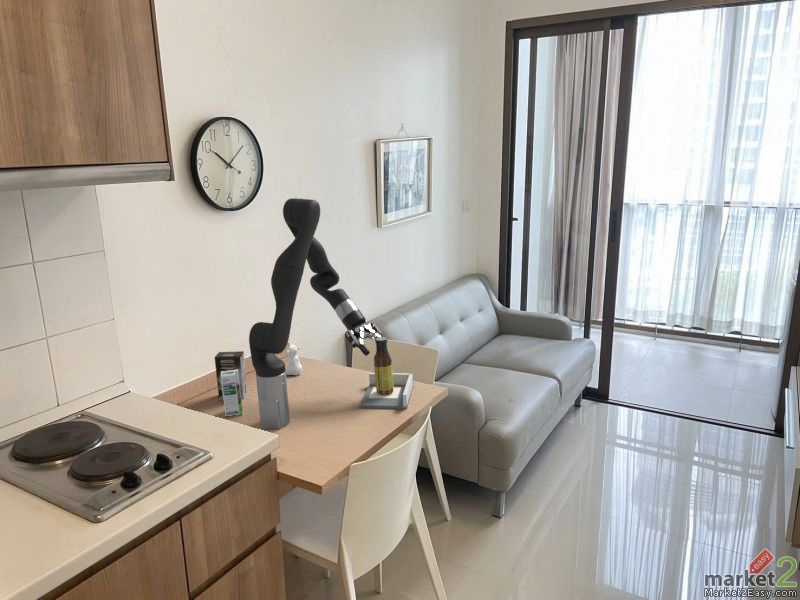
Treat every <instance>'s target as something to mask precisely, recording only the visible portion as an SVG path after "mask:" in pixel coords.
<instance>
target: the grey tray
mask: <svg viewBox="0 0 800 600" xmlns="http://www.w3.org/2000/svg"><path fill="white" fill-rule="evenodd" d="M368 379H369V385H368V387H367V389H366V391H365V393H364V396H363V397H362V399H361V402H360V404H359V409H388V410H389V409H391V408H394V409H396V410H398V409H400V410H401V409H403V410H407V409H408V408H409V407H408V406H409V403H410V400H411V396H412V393H411V392H413V390H412V389H413V388H414V373H413V372H411V373H407V372H393V385H394V387H393V392H392V393H391V394H388V395H381V394H378V393H377V389H376V382H375V372H369V373H368ZM391 410H392V409H391Z"/></svg>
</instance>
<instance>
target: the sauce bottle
mask: <svg viewBox="0 0 800 600" xmlns="http://www.w3.org/2000/svg"><path fill="white" fill-rule="evenodd" d="M374 341H375V342H374V343H375V345H376V349H375V350H376V351H375V354H374V356H373V363H374V364H373V367H374V373H375V382H376V389H377V393H378V394H381V395H388V394H391V393H392V392H393V387H394V385H393V373H394V371H393V360H392V358H391V355H390V353H389V351H388V339H387V337H386V336H381V337H378V338H376V339H375V340H374Z"/></svg>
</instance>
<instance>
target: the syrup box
mask: <svg viewBox="0 0 800 600" xmlns="http://www.w3.org/2000/svg"><path fill="white" fill-rule="evenodd" d="M221 385H222V393H223V400H222V401H223V406H224V407H223V409H224V417H225V416H229V417H233V416H232V415H236V416H243V413H244V412H243V403H242V399H241V392H240V383H239V374H238V369H236V370H229V371H221Z"/></svg>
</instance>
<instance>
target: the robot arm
mask: <svg viewBox="0 0 800 600" xmlns="http://www.w3.org/2000/svg"><path fill="white" fill-rule="evenodd" d="M282 216H283V219H284V222H285V224H286V226H287V228H288V229H289V230H290V232H291V233H292V235H293V237H294V240H293V241H292V242H291V243H290V244H289V245H288V246H287V247H286V248H285V249H284V250H283V251H282V252H281V253H280V255H278V257H277V258H276V261H275V264H274V266H273V270H272V274H271V278H270V283H271V289H272V290H271V291H272V293H273V296H274V302H275V312H274V317H273V320H272V321H273V322H263V321H259V322H256V323H254V325H252V326H251V328H250V330H249V334H248V335H249V336H248V343H249V352H250V357H251V365H252V366H253V369H254V371H255V377H256V378H255V379H256V389H257V398H258V411H259V418H260V426H261V427H260V428H261V430H262V429H263V430H264V429H265V430H267V429H269V430H280V429H282V428H283V427H286V426H288V425H289V424H290V422H291V417H290V415H291V414H290V405H289V394H288V382H287V375H286V369H285V368H286V364H285V361H283V360H282V359H281V358H279V357H278V356H277V355H279V354H281V353H283V352H284V351H285V349H286V348H287V345H288V342H289V340H290V339H289V338H290V334H291V327H292V321H293V315H294V310H295V305H296V301H297V296H298V294H299V289H300V285H301V282H302V278H303V275H304V270H305V267H306V263H307V265H308V267H309V269H310V271H311V272H312V273H314V274H313V275H312V276H311V278H310V279H309V283H310V286H311V289H313V291H314V292H316V293H317V294H318V295H319V296H321V297H322V298H323V299H325V301H327V303H329V305H330V306H331V308H332V309H333V310H334V312H335V313H336V315H337V317H338V318H339V320H340V321H341V323H342V324H343V326H344V327H345V328H346V330H347V332H346V333H345V334H344V336H345V337H346V339H347V341H348V342H349V344H350V345H351V347H352V348H353V349H355V348H358V349H359V350H360V352H361V353H362V354H363V355H364V356H365V357H367V356H368V355H370V353H371V352H370V350H369V348H368V347H367V346H366V345H365V343H364V340H366V339H370V340H373V341H375V339H376V338H378V337H383V334H384V333H383V331H382V330H381V328H379V327H378V326H377V324H376V323H375V322H374V321H372V322H371V323H369V324H368V322H367V321H366V317H365V316H364V314H363V313H362V312H361V310H360V309H359V307H358V306H357V305H356V303H355V302H354V301H352V298H350V297H349V294H347V292H346V291H345V290H344V289H343V288H336V289H333V290H331V288H333V287H334V286H336V285H337V284H339V281H340V275H339V273H338V272H337V271H336V270H335V268H334V267H333V266H332V264H331V263H330V260H329V259H328V256H327V253H326V251H325V248H324V247H323V245H322V244H321V243H320V241H319V240H318V239H316V237H315V233H316V230H317V228H318V224H319V222H320V217H321V205H320V203H319V202H318V201H317V200H316V199H310V198H297V197H296V198H295V197H293V198H288V199H287V200H286V201H285V202H284V204H283V207H282Z"/></svg>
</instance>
